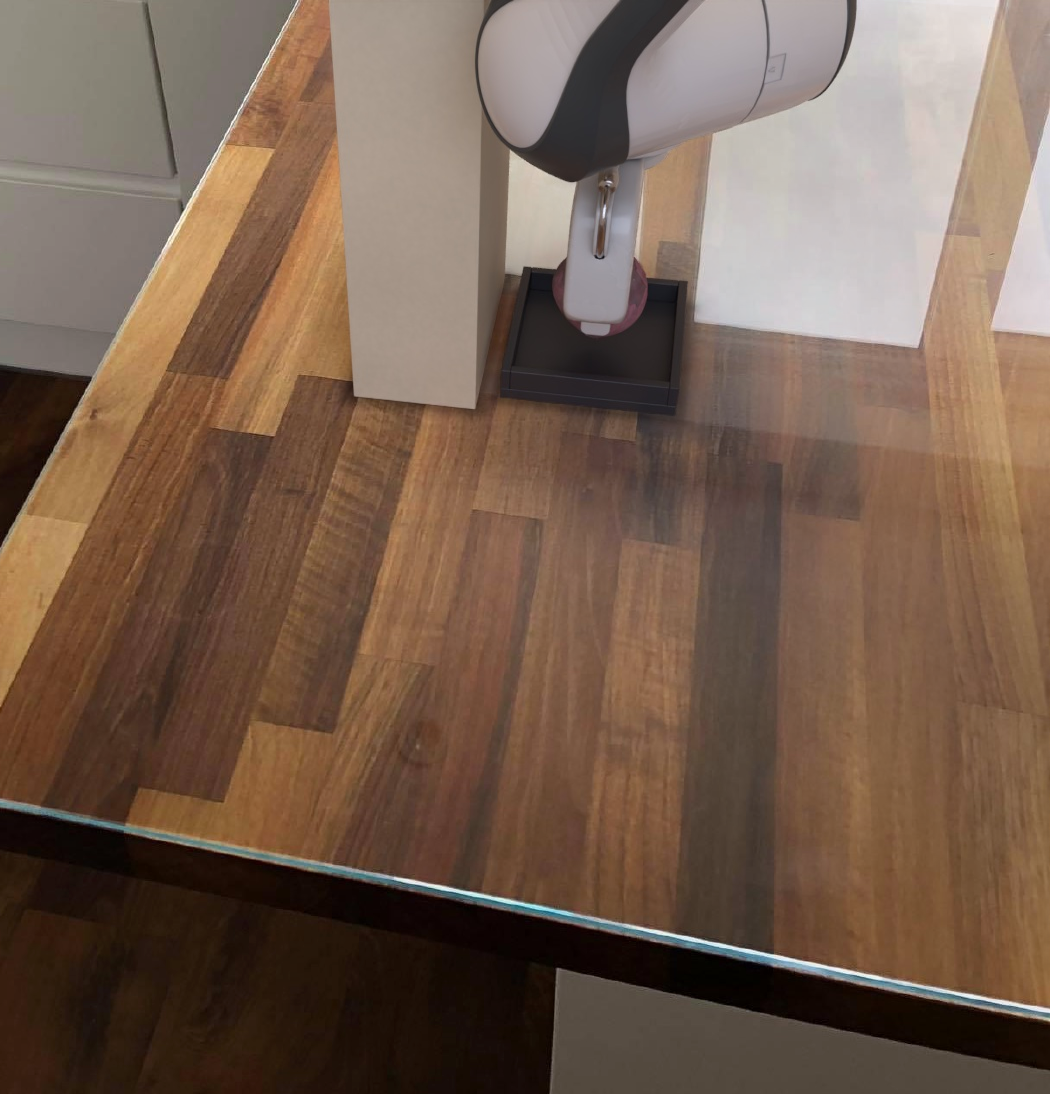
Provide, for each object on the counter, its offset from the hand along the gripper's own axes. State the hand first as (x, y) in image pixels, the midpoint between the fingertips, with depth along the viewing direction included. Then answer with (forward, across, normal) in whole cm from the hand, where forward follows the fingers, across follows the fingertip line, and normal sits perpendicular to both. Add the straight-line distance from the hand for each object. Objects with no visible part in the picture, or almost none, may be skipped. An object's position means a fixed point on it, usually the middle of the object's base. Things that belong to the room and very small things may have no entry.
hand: (601, 290), depth 88 cm
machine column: (+5, 0, +11) cm, 12 cm away
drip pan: (+5, 0, 0) cm, 5 cm away
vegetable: (+4, 0, 0) cm, 4 cm away
